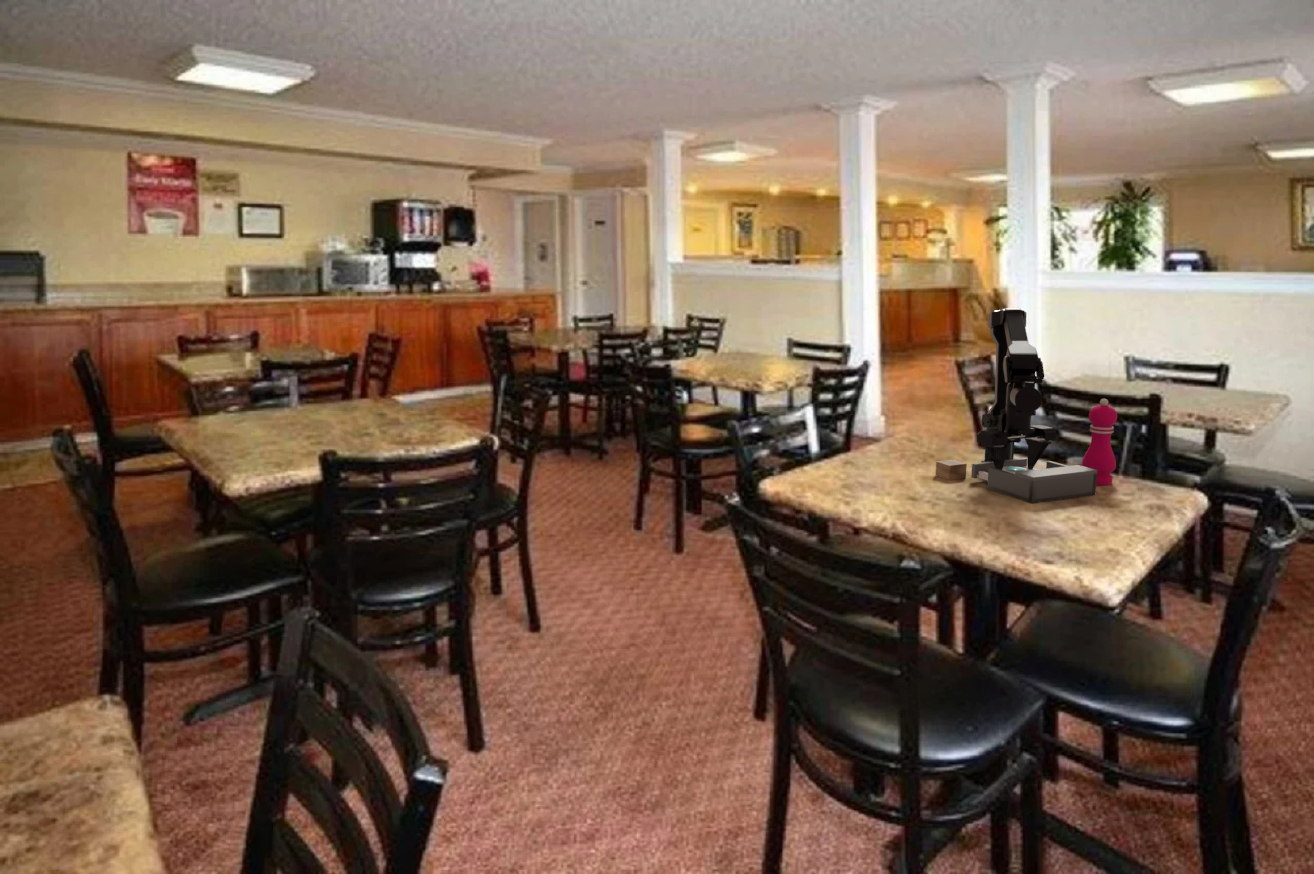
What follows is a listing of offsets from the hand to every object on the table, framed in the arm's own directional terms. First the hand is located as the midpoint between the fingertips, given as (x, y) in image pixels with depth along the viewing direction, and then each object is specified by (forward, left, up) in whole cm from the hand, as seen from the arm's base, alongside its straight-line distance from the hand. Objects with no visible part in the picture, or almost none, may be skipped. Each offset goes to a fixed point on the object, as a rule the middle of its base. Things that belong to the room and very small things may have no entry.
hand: (1014, 471), depth 216 cm
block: (+9, -11, -3) cm, 15 cm away
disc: (0, 0, -1) cm, 1 cm away
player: (0, +9, -3) cm, 9 cm away
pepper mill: (-19, +7, -3) cm, 20 cm away
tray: (0, +1, -2) cm, 2 cm away
